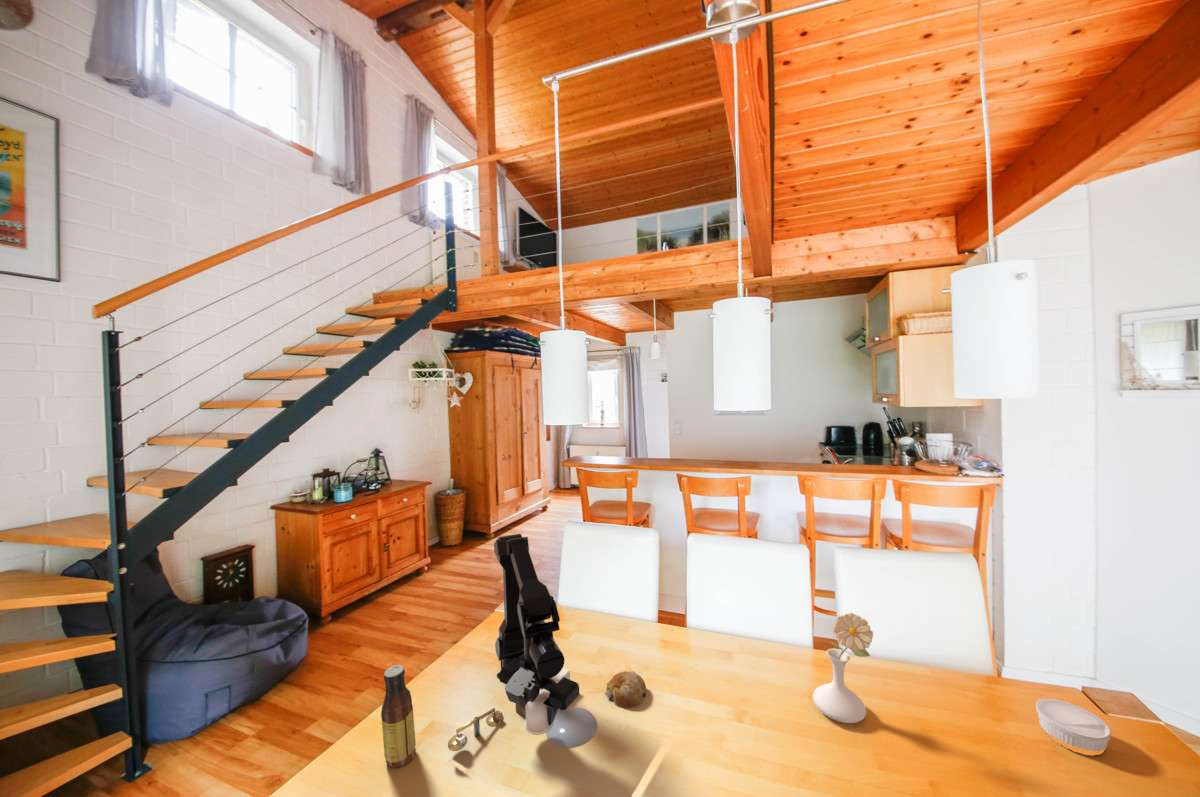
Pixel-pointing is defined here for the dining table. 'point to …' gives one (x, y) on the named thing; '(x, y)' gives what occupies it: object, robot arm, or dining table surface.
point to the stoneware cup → (537, 715)
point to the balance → (461, 740)
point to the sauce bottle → (397, 719)
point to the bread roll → (626, 689)
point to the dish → (572, 727)
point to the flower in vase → (836, 695)
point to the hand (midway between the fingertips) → (539, 718)
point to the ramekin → (1073, 724)
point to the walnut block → (520, 710)
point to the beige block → (562, 675)
